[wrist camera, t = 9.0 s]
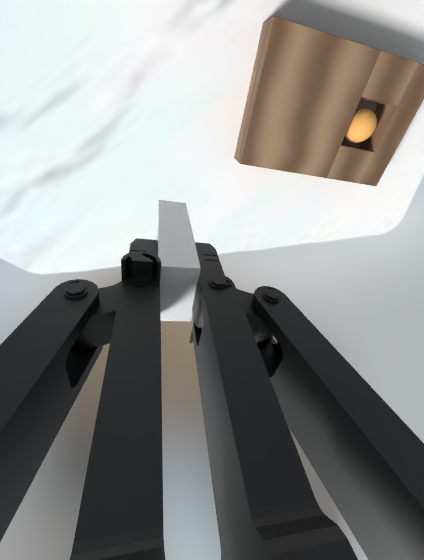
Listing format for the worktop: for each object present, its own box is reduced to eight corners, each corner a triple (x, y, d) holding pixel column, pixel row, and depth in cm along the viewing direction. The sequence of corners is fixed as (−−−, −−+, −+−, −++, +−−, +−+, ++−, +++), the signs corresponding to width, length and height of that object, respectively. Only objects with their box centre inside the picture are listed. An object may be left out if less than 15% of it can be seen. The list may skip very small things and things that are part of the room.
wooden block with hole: (234, 157, 36) (240, 163, 34) (263, 22, 28) (274, 16, 26) (361, 179, 42) (376, 186, 39) (416, 70, 34) (439, 69, 31)
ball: (354, 107, 36) (346, 105, 33) (385, 111, 34) (379, 109, 31) (343, 139, 38) (334, 140, 36) (371, 144, 36) (364, 145, 34)
